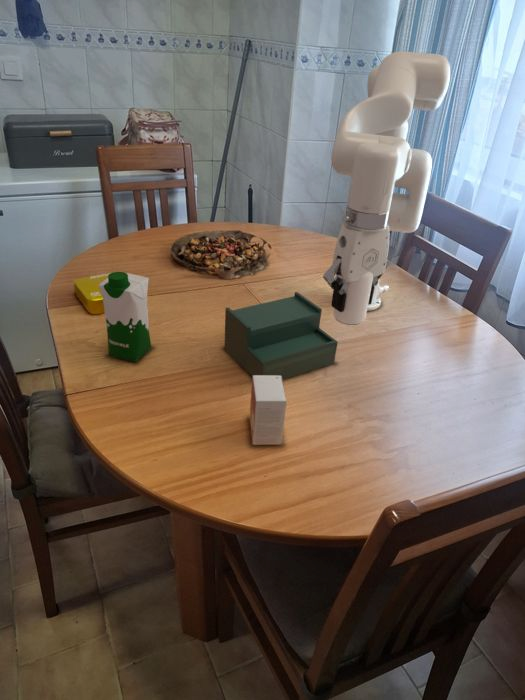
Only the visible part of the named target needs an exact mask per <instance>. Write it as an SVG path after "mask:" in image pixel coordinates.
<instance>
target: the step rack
mask: <svg viewBox="0 0 525 700" xmlns="http://www.w3.org/2000/svg"><path fill="white" fill-rule="evenodd" d="M224 313H225V314H224V315H225V316H224V347H223V348H224V350H225V351H226V352H227V353H228V354H229V355H230V356H231V357H232V358H233V359H234V361H236V362H237V363H238V364H239V365H240V366H241V368H242V369H244V370H245V372H247V373H248V374H249V376H250V377H252V376H253V375H276V376H282V381H284V380H288V379H290V378H293V377H296V376H299V375H302V374H305V373H309V372H312V371H315V370H318V369H321V368H324V367H328V366H330V365H334V364H335V360H336V356H337V350H338V349H337V348H338V340H336V339H335V338H334V337H332V336H331V335H330V334H328V333H327V332H325V330H323V329H322V328H320V326H321V325H320V324H321V318H322V317H321V316H322V308H321V307H320V306H318V305H317V304H315V303H314V302H312V301H311V300H309V299H308V298H306V296H304V295H302V294H301V293H299V292H298V291H296V292H294V296H289V297H284V298H280V299H276V300H271V301H267V302H263V303H258V304H254V305H249V306H245V307H241V308H236V309H231V308H230V307H225V311H224Z"/></svg>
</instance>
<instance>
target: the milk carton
mask: <svg viewBox="0 0 525 700" xmlns="http://www.w3.org/2000/svg"><path fill="white" fill-rule="evenodd" d="M112 272H113V273H110V272H109V273H110V274H109V275H108V278H107V279H106V280H104V281H103V282H101V283H100V284H99V288H100V291H101V294H102V297H103V302H104V310H105V313H104V318H105V325H106V326H105V327H106V335H107V348H108V356H109V357H113V358H117V359H121V360H124V361H127V362H131V363H137V362H138V361H139V360H140V359H141V358H142V357H143V356H144V355H145V354H147V352H149V350H150V349H152V342H151V336H150V335H151V334H150V323H149V308H148V293H149V292H148V290H149V280H150V279H149V277H147V276H142V275H137V274H134V273H129V272H127V273H124V272H116V271H112Z"/></svg>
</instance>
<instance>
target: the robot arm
mask: <svg viewBox="0 0 525 700" xmlns="http://www.w3.org/2000/svg"><path fill="white" fill-rule="evenodd" d="M450 81H451V65H450V62H449V60H448V58H447V57H446V56H444V55H443V54H439V53H430V52H429V53H428V52H417V51H415V52H414V51H394V52H391V53H389V54H387V55H386V56H385V57H384V58H383V59H382V60H381V62H380V64H379V65H378V66H375V67H373V68H372V69H371V70H370V71H369V74H368V77H367V83H366V85H367V89H366V90H367V98H366V99H363V100H362V101H361V102H358V103H357V104H356V105H354V106H353V107H352V108H350V109H349V110H348V111H346V113H345V114H344V115H343V117H342V118H341V120H340V122H339V125H338V128H337V132H336V135H335V137H334V141H333V145H332V149H331V157H330V159H331V165H332V168H333V170H334V171H335V172H336V173H337V174H339V175H342V176H347V177H348V176H350V182H349V183H350V184H349V190H348V197H347V202H346V210H345V214H343V215H342V217H341V219H342V222H344V223H342V224H341V227H340V230H339V233H338V236H337V240H336V243H335V248H334V253H333V259H332V264H331V265H330V267H329V268H328V269H327V270H326V271H325V272H324V273H323V274H322V278H323V279H324V281H325V282H326V283H327V285H328V286H329V287H330V288H331V289H332V297H331V302H330V306H331V307H332V308H333V309H334V308H335V309H336V310H338V311H339V312H343V311H344V307H345V301H346V293H344V292H345V290H346V288H347V286H348V284H349V283H351V282H356V281H359V280H360V279H361V277H362V276H363V275H364V274H365V273H367V272H371V273H372V274H373V282H372V287H371V292H370V297H369V303H368V308H367V312H368V311H369V312H370V311H374V310H377V309H379V308H380V307H381V304H382V299H381V297H380V295H381V294H382V293H386V292H389V290H390V287H389V285H388V284H385V285H381V286H380V282H381V277H382V276H383V275H384V273H385V271H386V270H387V269H388V267H389V266H390V261H389V260H388V255H389V250H390V249H389V247H390V232H396V233H405V234H410V233H414V232H416V230H418V229H419V226H420V223H421V220H422V216H423V212H424V207H425V204H426V203H425V202H426V199H427V194H428V188H429V184H430V180H431V175H432V174H431V173H432V168H433V160H432V155H431V154H430V153H429V151H427V150H425V149H420V148H413V147H412V148H411V145H410V143H409V142H408V141H407V136H408V131H409V122H408V120H410V117H411V116H412V112H413V110H416V111H426V112H430V111H431V112H432V111H436V110H437V109H439V108H440V106H441V105H442V103H443V101H444V99H445V96H446V94H447V92H448V89H449V86H450ZM395 188H396V189H397V188H398V189H405V190H406V191H407V192H408V194H406V193H401V192H400V193H399V192H394V189H395ZM341 279H342V280H343V282H342V284H341V286H340V285H339V282H340V280H341Z"/></svg>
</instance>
